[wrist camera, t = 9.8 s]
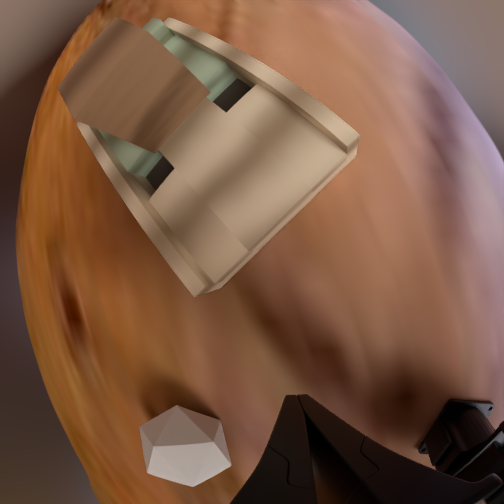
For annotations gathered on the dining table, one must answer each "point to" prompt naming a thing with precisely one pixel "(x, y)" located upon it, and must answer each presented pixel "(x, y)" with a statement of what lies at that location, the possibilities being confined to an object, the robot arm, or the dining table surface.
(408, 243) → the dining table surface
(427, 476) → the robot arm
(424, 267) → the dining table surface
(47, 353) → the dining table surface
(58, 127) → the dining table surface
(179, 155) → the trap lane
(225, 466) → the die
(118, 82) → the walnut block
